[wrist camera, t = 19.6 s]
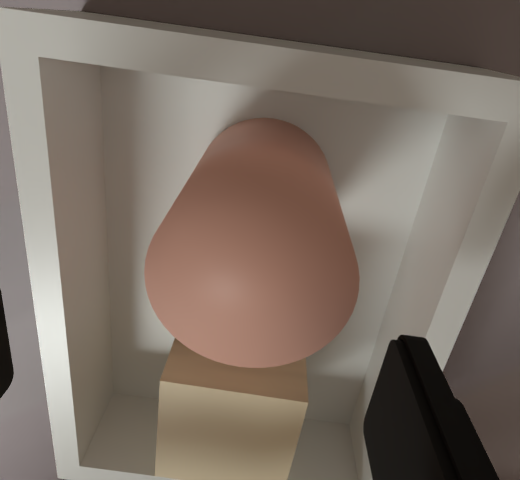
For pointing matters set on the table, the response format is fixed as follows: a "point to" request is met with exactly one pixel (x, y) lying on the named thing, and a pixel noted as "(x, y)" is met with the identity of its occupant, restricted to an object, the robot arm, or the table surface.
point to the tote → (177, 174)
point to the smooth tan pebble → (255, 251)
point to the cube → (228, 418)
